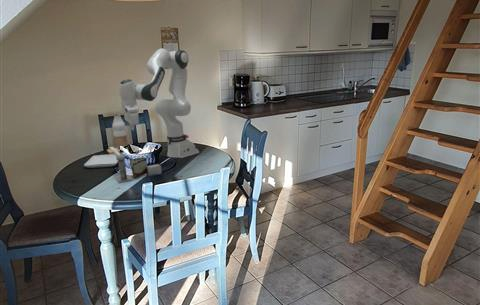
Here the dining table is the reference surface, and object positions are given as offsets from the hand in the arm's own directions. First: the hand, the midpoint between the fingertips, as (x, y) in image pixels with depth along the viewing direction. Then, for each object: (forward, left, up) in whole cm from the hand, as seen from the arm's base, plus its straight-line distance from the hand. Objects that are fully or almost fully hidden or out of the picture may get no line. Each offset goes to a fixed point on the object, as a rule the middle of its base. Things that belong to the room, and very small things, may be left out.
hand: (132, 129), depth 227 cm
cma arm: (+12, +2, -13) cm, 18 cm away
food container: (+3, +10, -26) cm, 28 cm away
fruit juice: (-2, -49, -26) cm, 56 cm away
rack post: (+12, +12, -26) cm, 31 cm away
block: (-6, +13, -26) cm, 30 cm away
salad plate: (+15, -27, -27) cm, 41 cm away
